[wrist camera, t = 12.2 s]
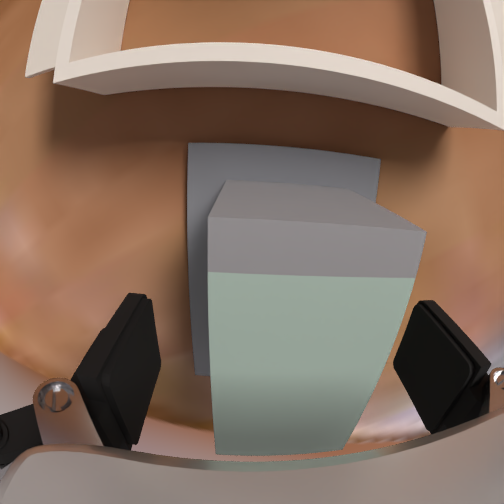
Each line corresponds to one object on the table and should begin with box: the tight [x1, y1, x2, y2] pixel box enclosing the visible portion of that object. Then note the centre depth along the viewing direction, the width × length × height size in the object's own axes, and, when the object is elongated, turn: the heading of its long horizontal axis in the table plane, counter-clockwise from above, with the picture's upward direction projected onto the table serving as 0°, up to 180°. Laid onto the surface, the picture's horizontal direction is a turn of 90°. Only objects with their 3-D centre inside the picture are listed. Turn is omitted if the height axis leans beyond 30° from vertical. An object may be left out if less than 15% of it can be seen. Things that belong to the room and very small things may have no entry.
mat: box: [187, 143, 381, 376], centre depth 13 cm, size 8×12×1 cm, turn 177°
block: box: [208, 180, 427, 456], centre depth 10 cm, size 5×9×6 cm, turn 177°
